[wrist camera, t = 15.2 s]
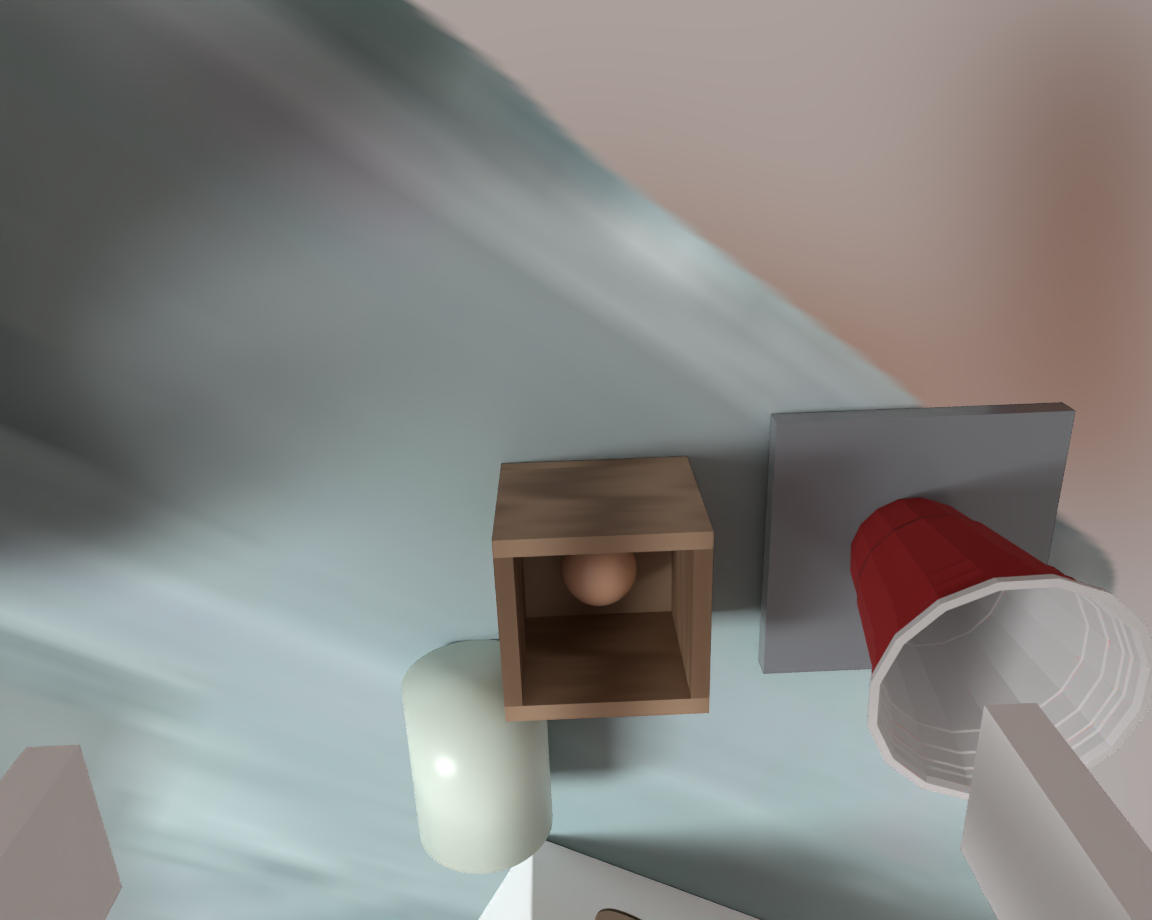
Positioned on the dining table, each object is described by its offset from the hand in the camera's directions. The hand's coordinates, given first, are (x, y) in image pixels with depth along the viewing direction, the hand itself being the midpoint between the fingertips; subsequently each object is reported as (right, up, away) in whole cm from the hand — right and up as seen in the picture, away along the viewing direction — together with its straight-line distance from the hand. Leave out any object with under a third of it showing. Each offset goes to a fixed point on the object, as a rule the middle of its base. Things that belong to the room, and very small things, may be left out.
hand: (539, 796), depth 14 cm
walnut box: (+2, +1, +33) cm, 33 cm away
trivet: (+17, +1, +33) cm, 37 cm away
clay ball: (+2, 0, +31) cm, 31 cm away
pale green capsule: (-4, -9, +37) cm, 38 cm away
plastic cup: (+17, +1, +32) cm, 37 cm away
